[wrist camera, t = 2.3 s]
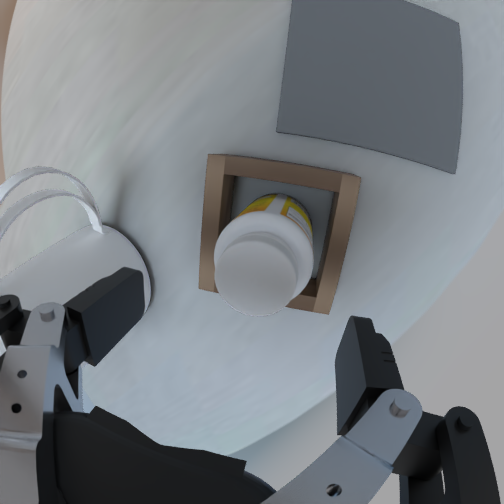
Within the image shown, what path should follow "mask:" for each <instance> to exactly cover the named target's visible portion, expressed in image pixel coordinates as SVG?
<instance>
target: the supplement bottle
mask: <svg viewBox="0 0 504 504" xmlns="http://www.w3.org/2000/svg"><path fill="white" fill-rule="evenodd" d="M313 260H314V257H313V237H312V223H311V220H310V217H309V214H308V212H307V210H306V209H305V208H304V206H303V205H302V204H301V203H300V202H298V201H297V200H296V199H294V198H292V197H290V196H288V195H284V194H268V195H264V196H262V197H260V198H258V199H256V200H255V201H254V202H252V203H251V204H250V205H249V206H248V207H247V208H246V209H245V210H244V211H242V212H241V213H240V214H239V215H238V216H237V217H236V218H235V219H234V220H232V221H231V222H230V223H229V224H228V225H227V226H226V227H225V228H224V230H223V231H222V232H221V234H220V236H219V238H218V240H217V242H216V246H215V251H214V265H215V284H216V287H217V290H218V292H219V294H220V296H221V297H222V299H223V300H224V301H225V302H226V303H227V304H228V305H229V306H230V307H232V308H233V309H234V310H236V311H238V312H240V313H242V314H245V315H249V316H257V317H260V316H268V315H272V314H274V313H277V312H278V311H280V310H282V309H283V308H284V307H285V306H286V305H287V304H288V303H289V302H290V300H292V299H293V298H295V297H296V296H297V295H299V294H300V293H301V292H302V290H303V289H304V288H305V287H306V285H307V283H308V282H309V280H310V277H311V274H312V270H313Z"/></svg>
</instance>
